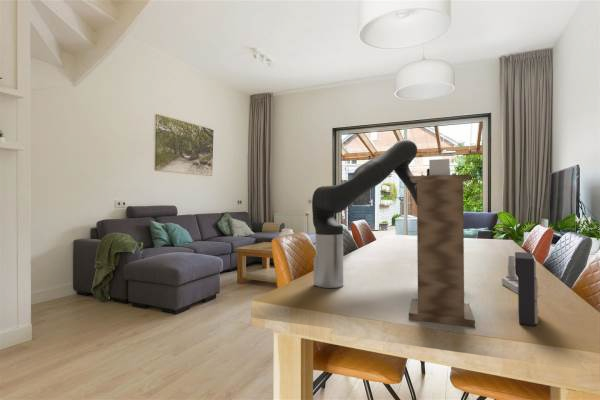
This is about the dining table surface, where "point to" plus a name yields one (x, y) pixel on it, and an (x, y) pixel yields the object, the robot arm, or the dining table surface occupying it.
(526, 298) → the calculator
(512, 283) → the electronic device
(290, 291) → the dining table surface
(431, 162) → the white cylinder with crossbar
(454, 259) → the wooden pedestal stand
